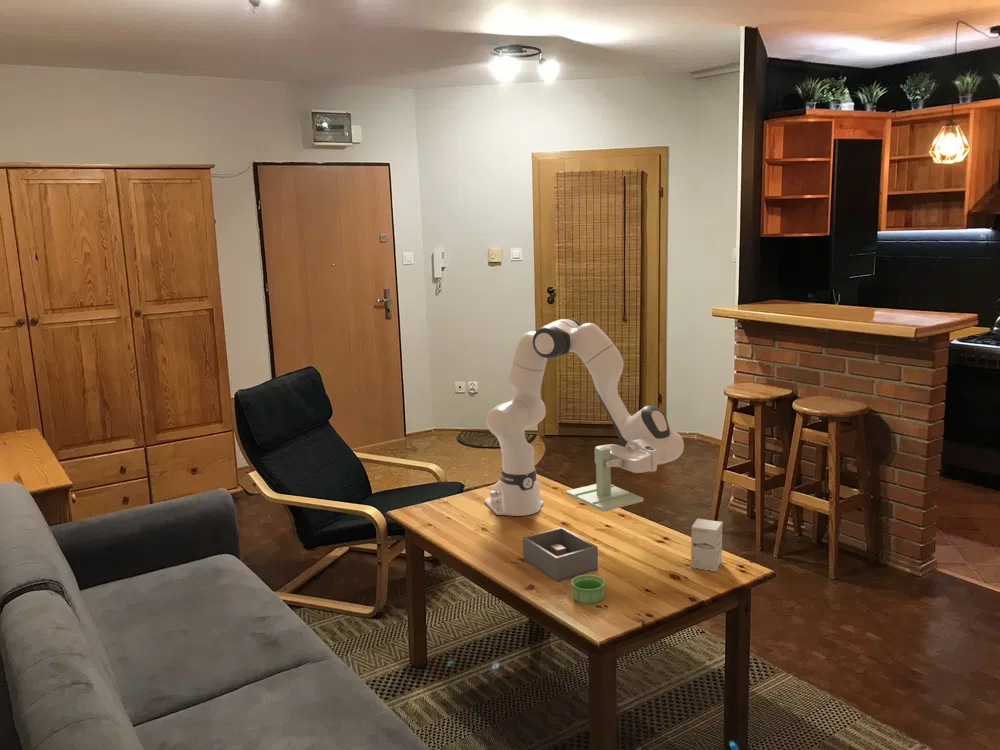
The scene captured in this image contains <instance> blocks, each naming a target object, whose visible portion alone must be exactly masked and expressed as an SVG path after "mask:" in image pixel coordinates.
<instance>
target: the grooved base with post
mask: <svg viewBox="0 0 1000 750" xmlns="http://www.w3.org/2000/svg"><path fill="white" fill-rule="evenodd" d="M605 460H610V449H609V448H606V447H601V448H596V463H595V476H596V477H595V478H596V479H595V480H596V483H594V484H590V485H586V486H581V487H577V488H573V489H569V490H565V495H566V496H569V497H570V498H573V499H575V500H578V501H580V502H582V503H583V504H585V505H588V506H590V507H591V508H594V509H596V510H598V511H601V512H602V513H603V512H609V511H611V510H612V511H613V510H614V509H615V510H617V509H619V508H623V507H626V506H630V505H636V504H638V503H642V502H644V499H645V498H644V497H642V496H640V495H637V494H636V493H633V492H630V491H628V490H625V489H623V488H621V487H618V486H615V484H612V477H611V476H612V475H611V468H612V467H605V466H604V461H605Z"/></svg>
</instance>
